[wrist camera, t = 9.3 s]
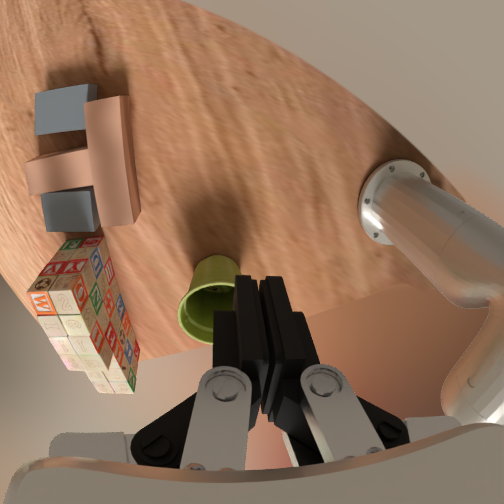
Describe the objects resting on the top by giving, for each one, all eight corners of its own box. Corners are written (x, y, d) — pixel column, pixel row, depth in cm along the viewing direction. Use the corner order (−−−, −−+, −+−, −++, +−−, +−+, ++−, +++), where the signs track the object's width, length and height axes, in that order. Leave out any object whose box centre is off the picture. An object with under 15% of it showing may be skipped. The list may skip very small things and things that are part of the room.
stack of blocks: (141, 350, 46) (132, 411, 35) (108, 350, 45) (93, 409, 35) (104, 234, 35) (70, 290, 25) (65, 238, 35) (24, 292, 24)
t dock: (97, 84, 26) (87, 83, 24) (102, 221, 34) (94, 231, 32) (47, 92, 25) (35, 93, 22) (56, 221, 33) (46, 231, 31)
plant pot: (241, 306, 43) (248, 349, 36) (176, 295, 41) (172, 339, 34) (260, 251, 39) (273, 290, 32) (189, 236, 37) (184, 275, 30)
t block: (129, 95, 28) (119, 95, 24) (141, 211, 35) (133, 224, 31) (35, 117, 26) (18, 121, 23) (52, 221, 33) (39, 234, 30)
